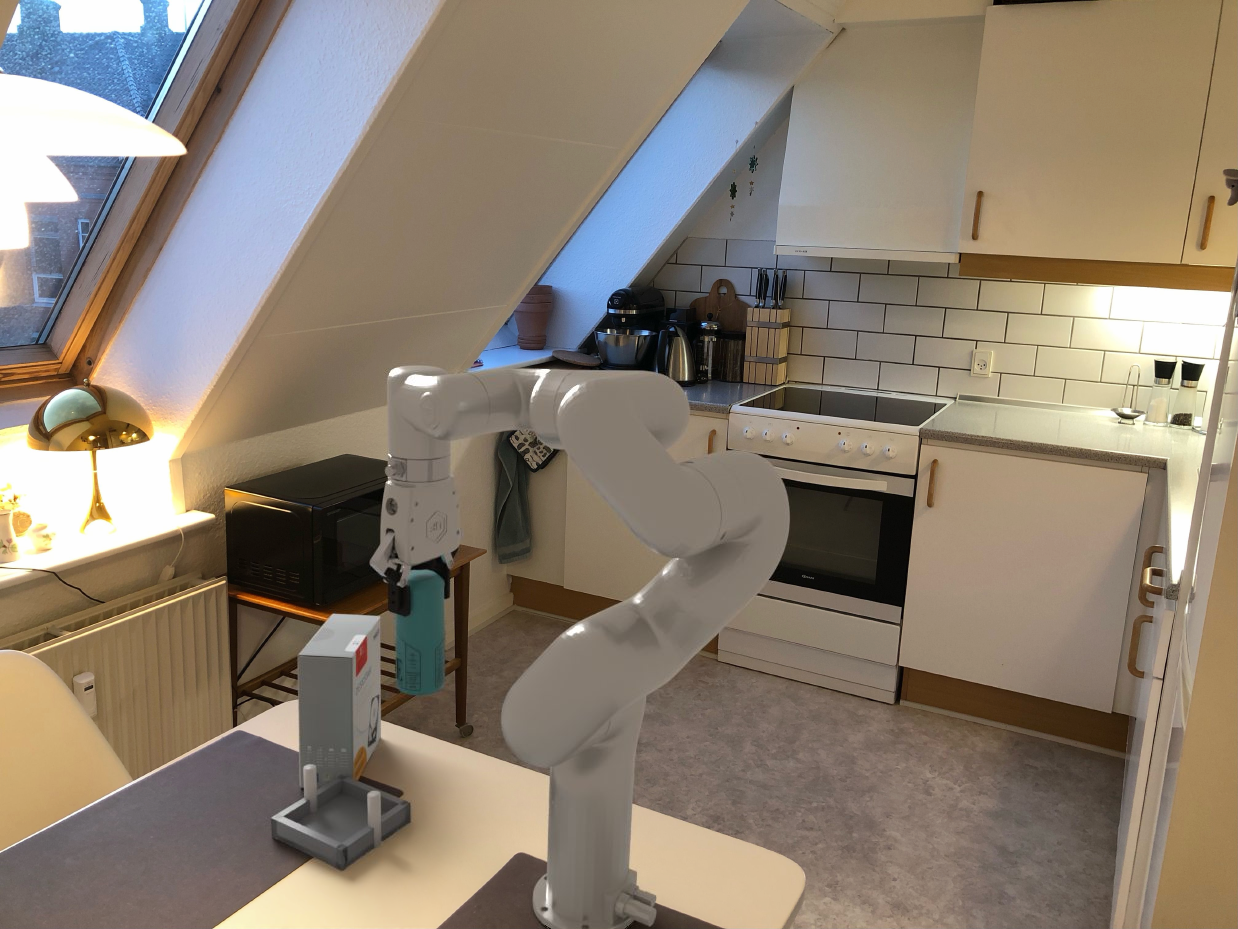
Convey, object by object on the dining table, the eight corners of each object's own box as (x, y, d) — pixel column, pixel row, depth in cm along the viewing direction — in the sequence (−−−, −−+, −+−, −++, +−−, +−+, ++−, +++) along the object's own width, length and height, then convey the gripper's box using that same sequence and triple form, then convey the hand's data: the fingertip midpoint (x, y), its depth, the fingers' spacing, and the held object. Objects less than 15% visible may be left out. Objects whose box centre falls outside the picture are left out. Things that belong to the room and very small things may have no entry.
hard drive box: (354, 792, 136) (351, 658, 131) (298, 790, 136) (293, 655, 131) (382, 736, 151) (381, 614, 146) (333, 734, 151) (329, 611, 146)
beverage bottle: (456, 696, 128) (457, 550, 123) (412, 712, 123) (412, 560, 119) (426, 679, 132) (427, 537, 128) (383, 694, 128) (382, 547, 123)
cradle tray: (412, 822, 129) (411, 774, 128) (343, 871, 119) (342, 820, 117) (341, 792, 135) (339, 746, 134) (270, 836, 125) (267, 787, 123)
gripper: (391, 486, 111) (392, 634, 116) (488, 460, 126) (486, 592, 130) (343, 475, 115) (346, 618, 119) (443, 451, 130) (443, 579, 134)
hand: (419, 603), depth 125 cm, fingers closed on beverage bottle, 6 cm apart
